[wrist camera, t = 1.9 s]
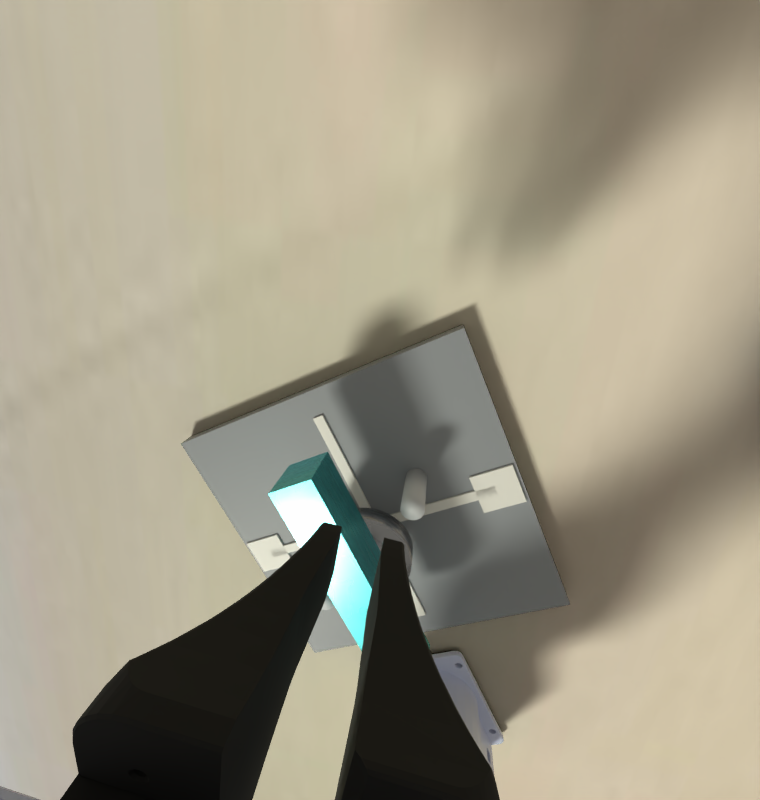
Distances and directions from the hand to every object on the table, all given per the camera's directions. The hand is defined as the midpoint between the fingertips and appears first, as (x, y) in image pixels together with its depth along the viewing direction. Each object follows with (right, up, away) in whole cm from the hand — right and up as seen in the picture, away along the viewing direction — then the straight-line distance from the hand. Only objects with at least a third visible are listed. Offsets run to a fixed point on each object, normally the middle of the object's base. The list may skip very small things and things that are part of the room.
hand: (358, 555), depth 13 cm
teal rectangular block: (0, -3, +9) cm, 9 cm away
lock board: (+1, -2, +11) cm, 11 cm away
